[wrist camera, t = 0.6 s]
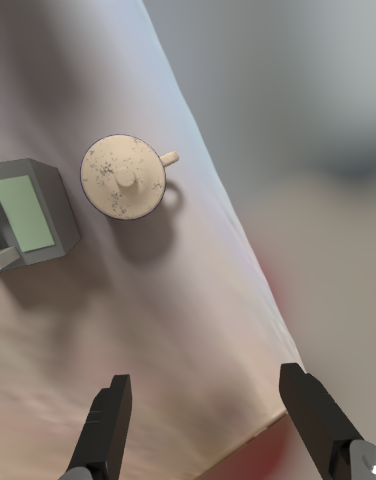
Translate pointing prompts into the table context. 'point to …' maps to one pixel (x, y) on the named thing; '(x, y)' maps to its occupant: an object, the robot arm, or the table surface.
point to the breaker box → (33, 214)
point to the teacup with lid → (124, 176)
